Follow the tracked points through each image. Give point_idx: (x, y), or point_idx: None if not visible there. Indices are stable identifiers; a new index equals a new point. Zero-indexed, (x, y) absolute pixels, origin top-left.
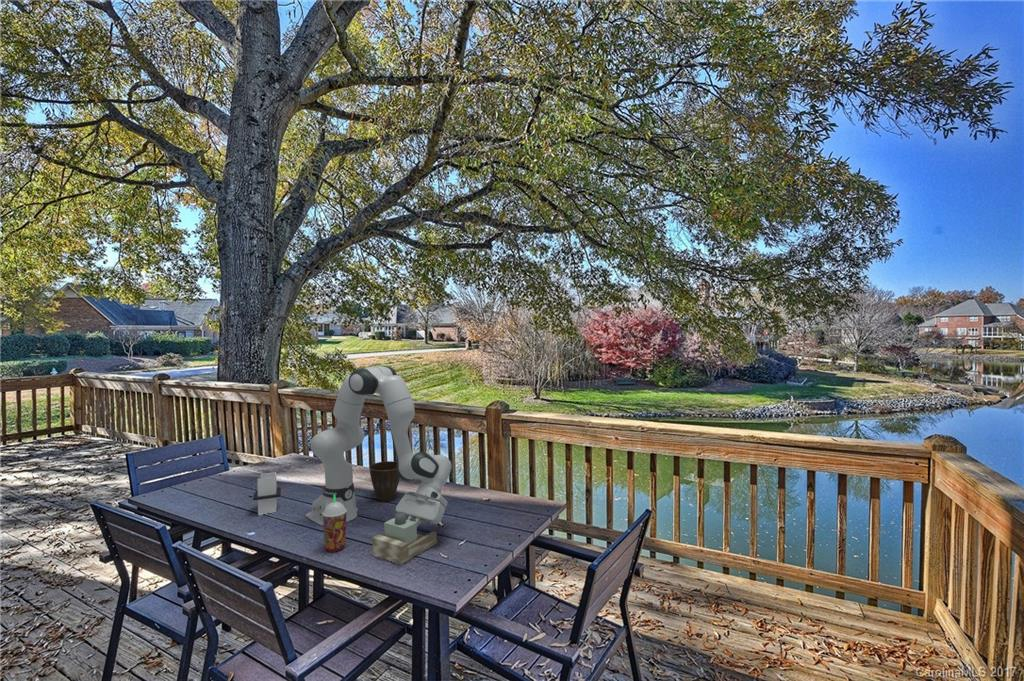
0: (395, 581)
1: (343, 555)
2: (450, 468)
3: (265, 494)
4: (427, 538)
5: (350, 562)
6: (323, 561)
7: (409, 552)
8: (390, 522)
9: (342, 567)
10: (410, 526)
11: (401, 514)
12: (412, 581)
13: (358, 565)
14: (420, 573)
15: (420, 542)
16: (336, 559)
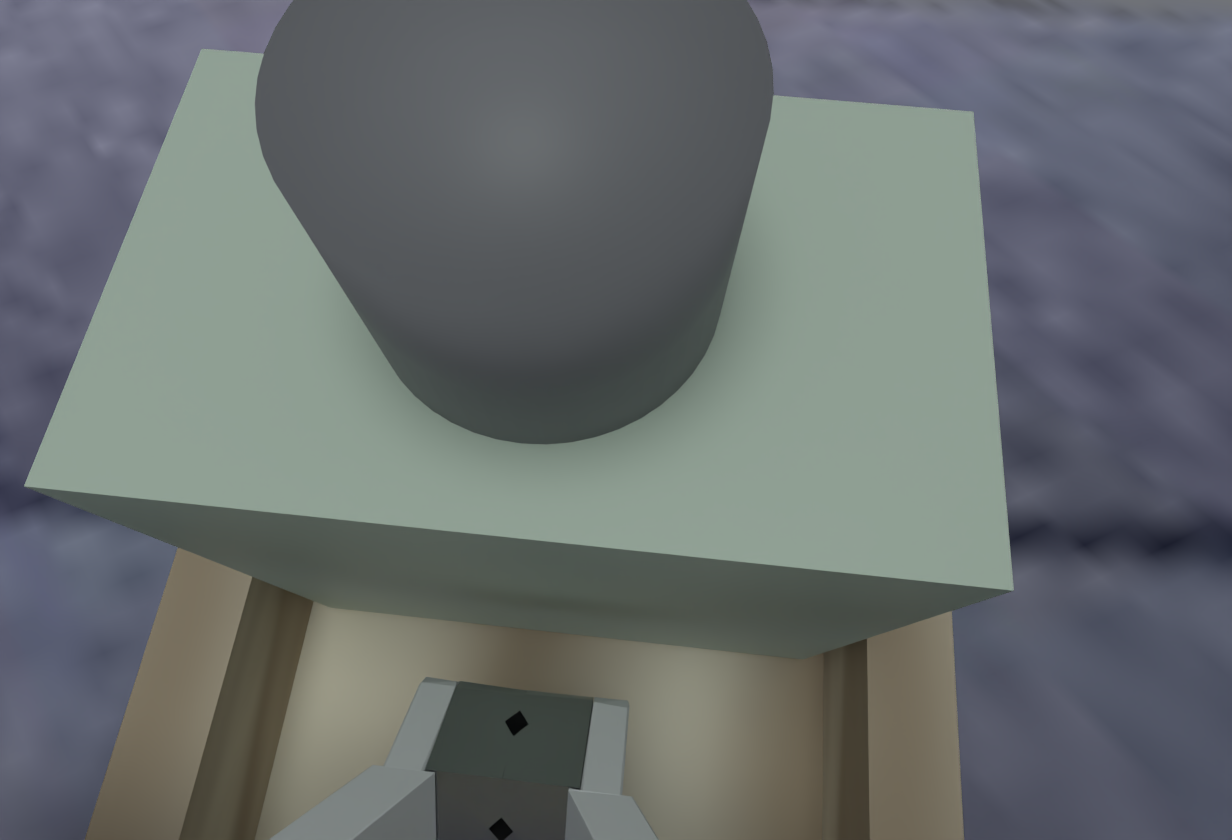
0: (261, 17)
1: (1175, 178)
2: None
3: None
4: (118, 783)
5: (957, 103)
6: (1223, 25)
7: None
8: (828, 177)
9: (939, 14)
10: (144, 239)
11: (457, 76)
12: (91, 68)
13: (826, 91)
14: (66, 201)
15: (186, 560)
16: (1150, 94)
